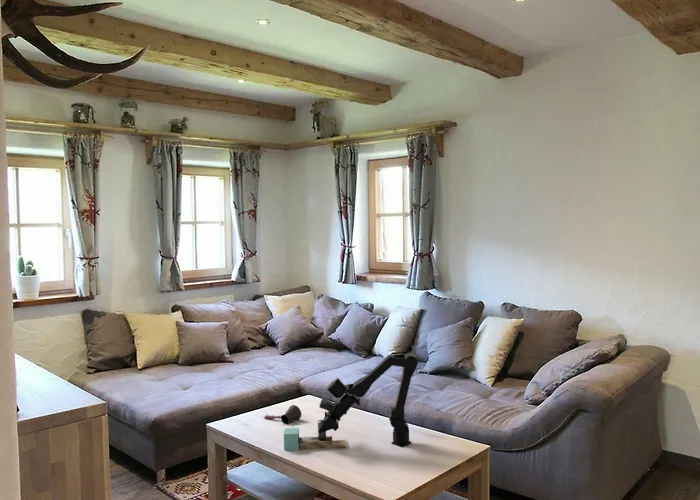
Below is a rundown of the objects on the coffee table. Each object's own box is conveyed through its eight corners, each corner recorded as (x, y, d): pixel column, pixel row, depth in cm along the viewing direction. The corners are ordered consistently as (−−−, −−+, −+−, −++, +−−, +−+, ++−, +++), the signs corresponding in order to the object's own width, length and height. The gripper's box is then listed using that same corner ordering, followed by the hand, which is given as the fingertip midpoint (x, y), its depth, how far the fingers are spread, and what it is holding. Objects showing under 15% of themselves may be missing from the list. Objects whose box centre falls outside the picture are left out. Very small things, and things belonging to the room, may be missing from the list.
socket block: (299, 443, 253) (298, 427, 253) (298, 449, 246) (297, 433, 246) (285, 444, 253) (285, 428, 252) (284, 450, 246) (283, 434, 245)
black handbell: (303, 419, 283) (292, 427, 276) (276, 417, 294) (265, 425, 287) (299, 404, 283) (289, 412, 276) (272, 403, 293) (261, 411, 286)
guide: (346, 442, 253) (345, 435, 253) (346, 448, 246) (346, 441, 246) (302, 443, 253) (302, 436, 253) (301, 449, 246) (301, 442, 246)
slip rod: (326, 441, 251) (325, 419, 251) (326, 444, 248) (325, 422, 247) (292, 442, 251) (291, 420, 251) (292, 445, 248) (291, 423, 247)
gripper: (330, 386, 258) (306, 411, 258) (329, 399, 239) (303, 426, 240) (348, 403, 259) (324, 428, 259) (349, 417, 240) (323, 444, 240)
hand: (318, 431), depth 249 cm, fingers closed on slip rod, 3 cm apart
